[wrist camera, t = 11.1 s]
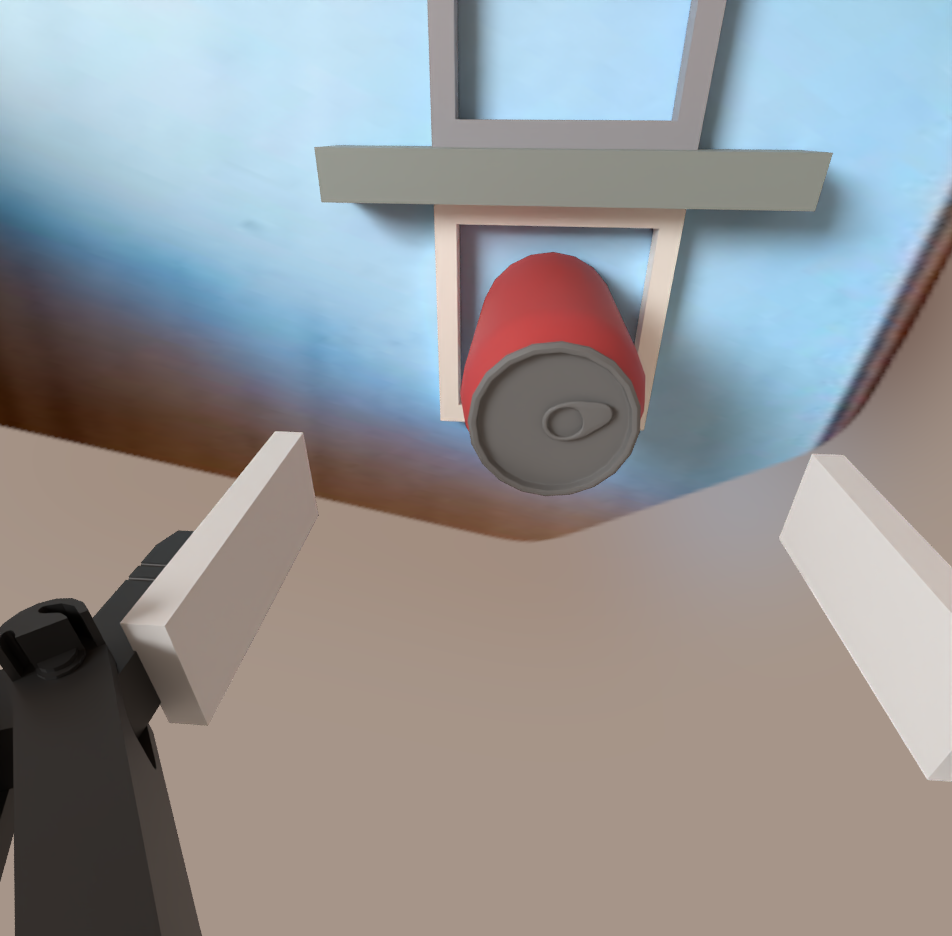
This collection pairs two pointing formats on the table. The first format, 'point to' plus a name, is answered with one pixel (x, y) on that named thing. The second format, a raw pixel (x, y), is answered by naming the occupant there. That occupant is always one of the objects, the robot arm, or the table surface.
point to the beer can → (552, 378)
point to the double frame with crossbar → (568, 179)
